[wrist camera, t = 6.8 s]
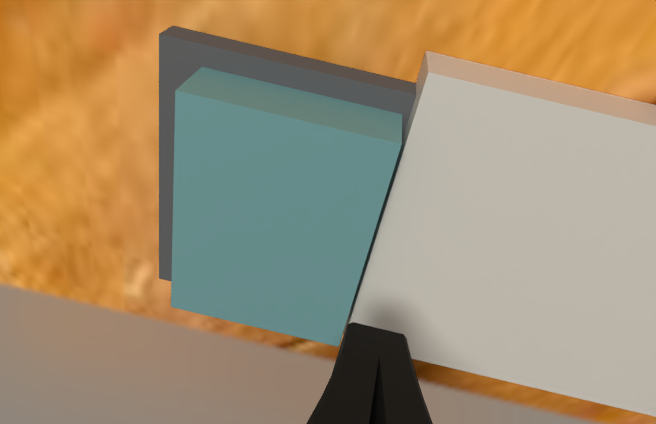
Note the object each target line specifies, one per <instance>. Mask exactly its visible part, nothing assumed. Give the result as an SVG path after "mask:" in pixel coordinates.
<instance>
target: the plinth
mask: <svg viewBox="0 0 656 424" xmlns="http://www.w3.org/2000/svg"><path fill="white" fill-rule="evenodd" d="M352 322H355V323H359V324H363V325H367V326H372V327H376V328H380V329H384V330H388V331H392V332H396V333H401V334H404V335H405V337H406V338H407V342H408V347H409V351H410V355H411V359H416V360H420V361H424V362H428V363H432V364H437V365H441V366H445V367H449V368H453V369H458V370H462V371H466V372H470V373H474V374H479V375H483V376H487V377H491V378H495V379H500V380H504V381H508V382H512V383H516V384H521V385H525V386H529V387H533V388H538V389H542V390H546V391H550V392H554V393H559V394H563V395H567V396H571V397H575V398H580V399H584V400H588V401H592V402H596V403H601V404H605V405H609V406H613V407H617V408H622V409H626V410H630V411H634V412H638V413H643V414H647V415H651V416H655V417H656V105H654V104H649V103H645V102H641V101H637V100H632V99H628V98H624V97H620V96H616V95H611V94H607V93H603V92H599V91H595V90H590V89H586V88H582V87H578V86H573V85H569V84H565V83H561V82H557V81H552V80H548V79H544V78H540V77H536V76H531V75H527V74H523V73H519V72H514V71H510V70H506V69H502V68H498V67H493V66H489V65H485V64H481V63H477V62H472V61H468V60H464V59H460V58H455V57H451V56H447V55H443V54H439V53H434V52H430V51H426V52H425V55H424V58H423V62H422V65H421V68H420V72H419V75H418V78H417V81H416V98H415V101H414V105H413V108H412V111H411V114H410V117H409V121H408V124H407V127H406V130H405V134H404V137H403V140H402V145H401V148H400V152H399V155H398V158H397V161H396V164H395V168H394V171H393V174H392V177H391V180H390V184H389V187H388V190H387V193H386V196H385V200H384V203H383V206H382V209H381V212H380V216H379V219H378V222H377V225H376V229H375V232H374V235H373V238H372V241H371V245H370V248H369V251H368V254H367V257H366V261H365V264H364V267H363V270H362V273H361V277H360V280H359V283H358V286H357V290H356V293H355V296H354V299H353V302H352V306H351V309H350V312H349V315H348V318H347V322H346V325H345V331H346V328H347V324H350V323H352ZM344 334H345V332H344Z"/></svg>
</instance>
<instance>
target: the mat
mask: <svg viewBox="0 0 656 424" xmlns="http://www.w3.org/2000/svg"><path fill="white" fill-rule="evenodd" d="M201 67H205V68H209V69H213V70H218V71H222V72H226V73H230V74H234V75H239V76H243V77H247V78H251V79H256V80H260V81H264V82H268V83H272V84H277V85H281V86H285V87H289V88H293V89H298V90H302V91H306V92H310V93H314V94H319V95H323V96H327V97H331V98H335V99H340V100H344V101H348V102H352V103H356V104H361V105H365V106H369V107H373V108H377V109H382V110H386V111H390V112H394V113H398V114H402V140H403V137H404V134H405V130H406V127H407V124H408V121H409V117H410V114H411V111H412V108H413V105H414V101H415V98H416V83H412V82H408V81H404V80H400V79H395V78H391V77H387V76H383V75H379V74H374V73H370V72H366V71H362V70H357V69H353V68H349V67H345V66H341V65H336V64H332V63H328V62H324V61H320V60H315V59H311V58H307V57H303V56H298V55H294V54H290V53H286V52H282V51H277V50H273V49H269V48H265V47H261V46H256V45H252V44H248V43H244V42H240V41H235V40H231V39H227V38H223V37H218V36H214V35H210V34H206V33H202V32H197V31H193V30H189V29H185V28H181V27H176V26H172V27H170V28H168V29H167V30H165V31H163V32H162V33H160V34H159V278H160V279H164V280H168V281H172V233H173V183H174V133H175V90H176V89H177V88H179V87H180V86H181V85H182V84H183V83H184V82H185V81H186V80H187V79H189V78H190V77H191V76H192V75H193V74H194V73H195V72H196V71H198V70H199V69H200V68H201Z"/></svg>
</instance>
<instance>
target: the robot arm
mask: <svg viewBox="0 0 656 424" xmlns="http://www.w3.org/2000/svg"><path fill="white" fill-rule="evenodd" d="M307 424H433V423H432V421H431V418H430V415H429V413H428V410H427V407H426V404H425V401H424V398H423V395H422V392H421V389H420V386H419V383H418V379H417V376H416V373H415V369H414V366H413V362H412V359H411V355H410V351H409V347H408V342H407V338H406V337H405V335H404V334H401V333H396V332H392V331H388V330H384V329H380V328H376V327H372V326H367V325H363V324H359V323H355V322H352V323H350V324H347V328H346V331H345V334H344V337H343V340H342V344H341V347H340V350H339V353H338V356H337V359H336V363H335V366H334V369H333V372H332V376H331V378H330V380H329V382H328V384H327V386H326V388H325V391H324V393H323V395H322V397H321V399H320V400H319V402H318V404H317V406H316V408H315V409H314V411H313V413H312V415H311V417H310V418H309V420H308V422H307Z"/></svg>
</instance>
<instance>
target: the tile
mask: <svg viewBox="0 0 656 424" xmlns="http://www.w3.org/2000/svg"><path fill="white" fill-rule="evenodd" d="M401 145H402V114H398V113H394V112H390V111H386V110H382V109H377V108H373V107H369V106H365V105H361V104H356V103H352V102H348V101H344V100H340V99H335V98H331V97H327V96H323V95H319V94H314V93H310V92H306V91H302V90H298V89H293V88H289V87H285V86H281V85H277V84H272V83H268V82H264V81H260V80H256V79H251V78H247V77H243V76H239V75H234V74H230V73H226V72H222V71H218V70H213V69H209V68H205V67H201V68H200V69H199V70H198V71H196V72H195V73H194V74H193V75H192V76H191V77H190V78H189V79H187V80H186V81H185V82H184V83H183V84H182V85H181V86H180V87H179V88H177V89H176V90H175V133H174V183H173V233H172V284H171V307H174V308H178V309H182V310H186V311H191V312H195V313H199V314H203V315H207V316H212V317H216V318H220V319H224V320H229V321H233V322H237V323H241V324H245V325H250V326H254V327H258V328H262V329H266V330H271V331H275V332H279V333H283V334H287V335H292V336H296V337H300V338H304V339H308V340H313V341H317V342H321V343H325V344H329V345H334V346H338V347H339V344H340V341H341V338H342V334H343V331H344V328H345V325H346V322H347V318H348V315H349V312H350V309H351V306H352V302H353V299H354V296H355V293H356V290H357V286H358V283H359V280H360V277H361V273H362V270H363V267H364V264H365V261H366V257H367V254H368V251H369V248H370V245H371V241H372V238H373V235H374V232H375V229H376V225H377V222H378V219H379V216H380V212H381V209H382V206H383V203H384V200H385V196H386V193H387V190H388V187H389V184H390V180H391V177H392V174H393V171H394V168H395V164H396V161H397V158H398V155H399V152H400V148H401Z"/></svg>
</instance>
